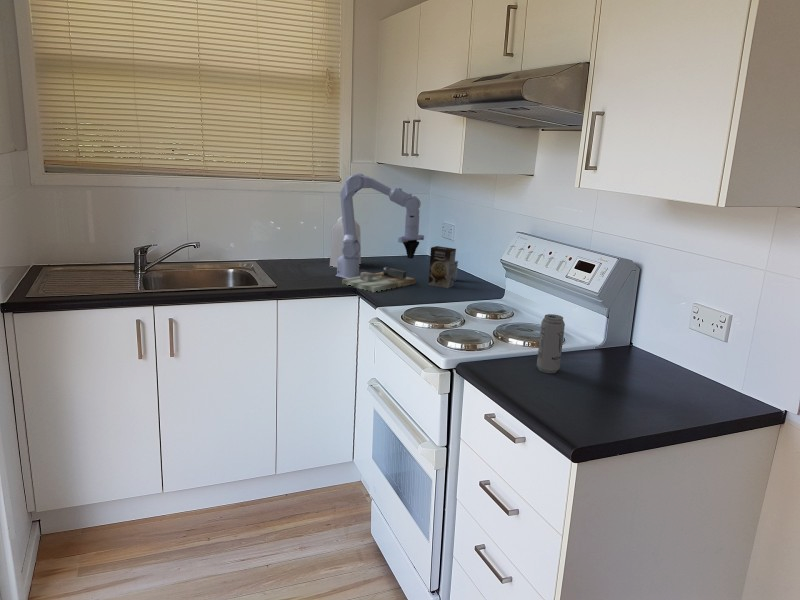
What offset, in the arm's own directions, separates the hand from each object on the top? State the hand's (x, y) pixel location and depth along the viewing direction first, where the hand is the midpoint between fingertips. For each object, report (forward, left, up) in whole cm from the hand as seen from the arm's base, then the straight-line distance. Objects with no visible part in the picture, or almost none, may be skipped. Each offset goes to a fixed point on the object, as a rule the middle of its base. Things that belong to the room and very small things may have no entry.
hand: (410, 258), depth 256 cm
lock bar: (-3, -6, -8) cm, 10 cm away
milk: (-42, +2, -11) cm, 43 cm away
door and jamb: (-5, -13, -10) cm, 17 cm away
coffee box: (+12, +6, -11) cm, 17 cm away
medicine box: (+8, +17, -11) cm, 21 cm away
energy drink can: (+92, -50, -11) cm, 106 cm away
